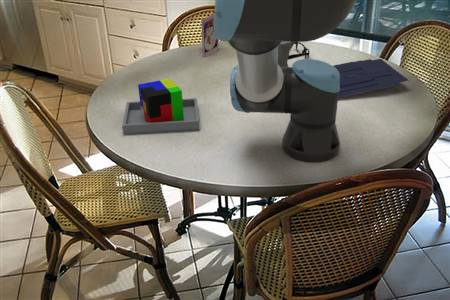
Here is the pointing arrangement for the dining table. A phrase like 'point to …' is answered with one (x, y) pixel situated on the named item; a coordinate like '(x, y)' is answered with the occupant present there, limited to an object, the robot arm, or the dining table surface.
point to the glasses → (300, 53)
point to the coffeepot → (284, 52)
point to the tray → (138, 125)
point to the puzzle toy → (161, 101)
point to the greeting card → (208, 36)
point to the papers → (366, 76)
